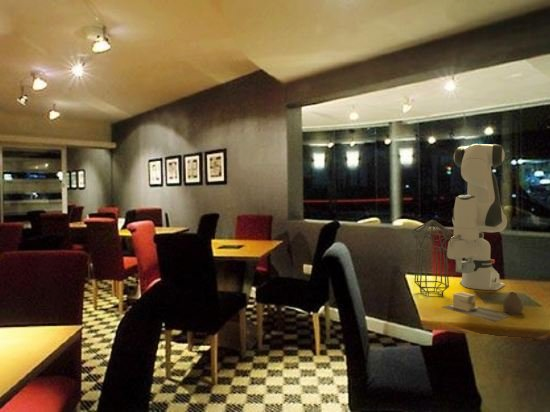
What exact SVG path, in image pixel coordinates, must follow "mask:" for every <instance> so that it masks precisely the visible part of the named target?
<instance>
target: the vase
mask: <svg viewBox="0 0 550 412" xmlns="http://www.w3.org/2000/svg"><path fill="white" fill-rule="evenodd" d="M502 307H503V308H502V309H503V311H504V313H506V314H510V315H521V314H522V313H523V311H524V303H523V301H522V299H521V298H520V296H519V295H518V293H517V292H514V291H513V292H512V291H510V292H508V295H507V296H506V297H505V298H504V299H503V302H502Z"/></svg>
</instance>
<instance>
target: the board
mask: <svg viewBox="0 0 550 412" xmlns="http://www.w3.org/2000/svg"><path fill="white" fill-rule="evenodd" d="M441 308H443V309H447V310H451V311H453V312H458V313H462V314H465V315H468V316H471V317H476V318H480V319H484V320H488V321H492V322H495V323H496V322H498V321H501V320H503V319H504V320H505V319H507V318H509V317H512V316H513V315H514V314H509V313H506V312H503V311H497V310H493V309H489V308H486V307H482V306H481V307H480V306H476V305H475V307H474V308H470V309H463V308H459V307H455V306H453V303H452V304H449V305H448V304H447V305H445V306H441Z"/></svg>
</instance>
